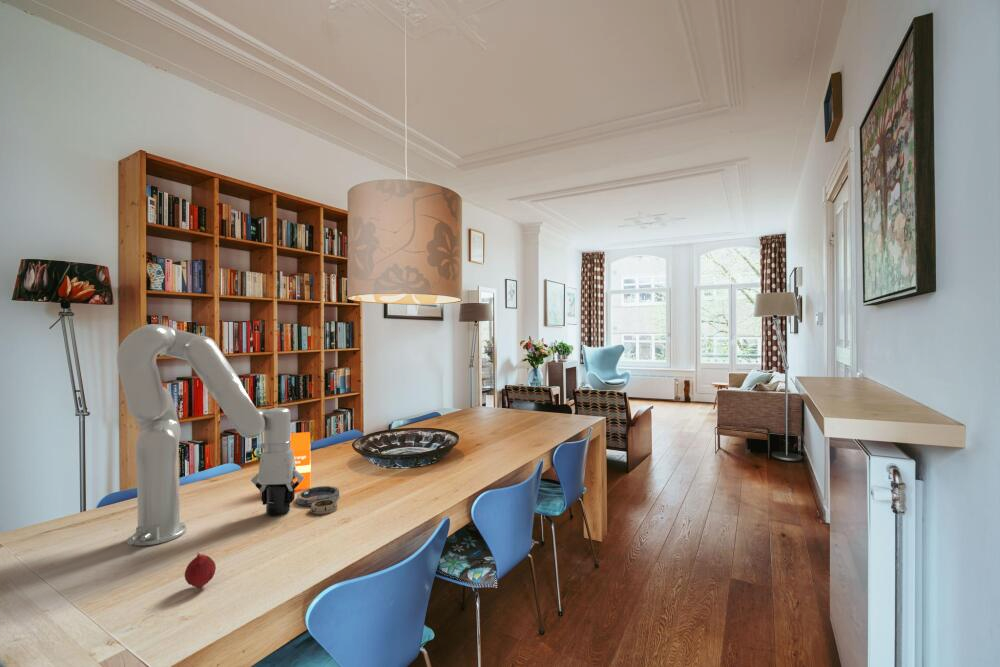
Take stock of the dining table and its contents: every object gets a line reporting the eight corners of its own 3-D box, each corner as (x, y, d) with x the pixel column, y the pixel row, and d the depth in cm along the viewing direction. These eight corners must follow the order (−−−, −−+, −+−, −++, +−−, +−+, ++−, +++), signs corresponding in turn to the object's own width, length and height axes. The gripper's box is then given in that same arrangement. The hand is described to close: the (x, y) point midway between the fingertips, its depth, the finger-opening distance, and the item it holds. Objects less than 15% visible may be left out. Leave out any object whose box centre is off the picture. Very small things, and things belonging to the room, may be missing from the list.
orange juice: (310, 488, 166) (309, 434, 166) (283, 491, 163) (283, 436, 163) (310, 481, 174) (310, 429, 174) (285, 484, 170) (285, 431, 170)
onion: (221, 580, 105) (220, 545, 105) (205, 594, 99) (205, 558, 99) (195, 580, 105) (195, 546, 105) (178, 595, 99) (178, 558, 99)
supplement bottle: (263, 518, 139) (263, 479, 139) (268, 509, 146) (268, 473, 146) (287, 515, 141) (287, 477, 141) (291, 507, 148) (291, 471, 148)
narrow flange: (333, 514, 142) (333, 507, 142) (307, 515, 141) (306, 508, 141) (340, 504, 150) (340, 498, 150) (315, 505, 149) (315, 499, 149)
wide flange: (332, 506, 149) (332, 499, 149) (290, 507, 148) (290, 500, 148) (343, 491, 163) (343, 485, 163) (305, 492, 162) (305, 486, 162)
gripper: (243, 451, 139) (244, 508, 139) (301, 449, 140) (301, 506, 141) (255, 444, 147) (255, 499, 147) (309, 443, 148) (310, 497, 148)
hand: (278, 502), depth 144 cm, fingers closed on supplement bottle, 6 cm apart
